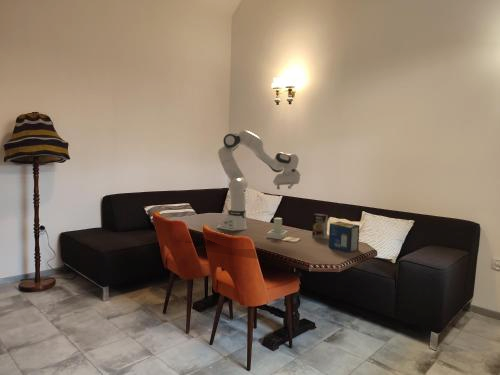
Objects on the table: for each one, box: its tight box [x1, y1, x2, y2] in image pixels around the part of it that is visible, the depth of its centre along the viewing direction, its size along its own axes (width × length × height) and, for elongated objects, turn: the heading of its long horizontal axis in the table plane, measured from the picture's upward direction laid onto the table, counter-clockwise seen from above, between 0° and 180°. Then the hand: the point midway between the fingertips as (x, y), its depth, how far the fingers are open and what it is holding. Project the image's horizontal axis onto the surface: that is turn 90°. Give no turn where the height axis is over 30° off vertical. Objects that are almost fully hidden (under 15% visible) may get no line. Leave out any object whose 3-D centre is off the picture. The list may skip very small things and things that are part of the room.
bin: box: [266, 228, 289, 240], centre depth 254 cm, size 11×12×4 cm
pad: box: [281, 236, 301, 244], centre depth 245 cm, size 10×10×1 cm
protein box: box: [328, 221, 360, 253], centre depth 227 cm, size 10×15×16 cm
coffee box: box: [311, 213, 329, 239], centre depth 256 cm, size 9×6×16 cm
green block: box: [273, 217, 283, 234], centre depth 254 cm, size 4×4×13 cm
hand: (283, 188), depth 261 cm, fingers open, 8 cm apart
